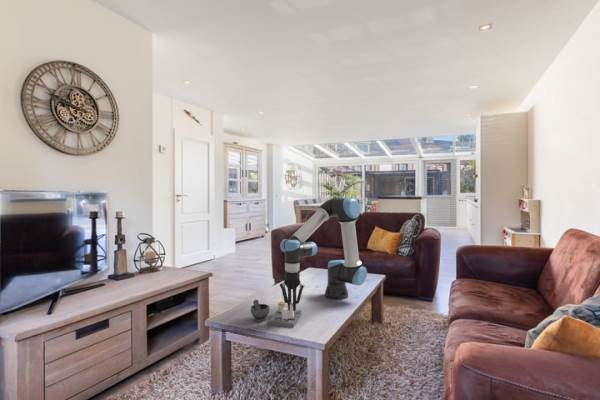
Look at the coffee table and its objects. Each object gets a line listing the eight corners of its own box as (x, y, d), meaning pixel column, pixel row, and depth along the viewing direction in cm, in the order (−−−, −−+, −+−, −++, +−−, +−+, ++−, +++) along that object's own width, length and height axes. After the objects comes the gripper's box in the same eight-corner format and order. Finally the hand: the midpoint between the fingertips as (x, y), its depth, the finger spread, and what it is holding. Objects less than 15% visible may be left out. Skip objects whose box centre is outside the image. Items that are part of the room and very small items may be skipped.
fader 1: (285, 310, 175) (285, 302, 174) (283, 312, 171) (283, 304, 171) (279, 309, 175) (279, 301, 175) (278, 311, 172) (278, 303, 172)
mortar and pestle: (256, 315, 173) (256, 293, 173) (272, 317, 170) (272, 295, 170) (246, 323, 162) (246, 300, 162) (263, 325, 159) (263, 302, 159)
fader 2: (289, 317, 165) (289, 308, 165) (287, 319, 162) (288, 310, 162) (283, 316, 165) (283, 308, 165) (281, 319, 162) (281, 310, 162)
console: (301, 314, 175) (301, 310, 175) (293, 327, 157) (293, 323, 157) (278, 312, 178) (278, 308, 178) (268, 325, 160) (268, 320, 160)
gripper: (306, 269, 165) (305, 315, 165) (282, 268, 167) (281, 312, 168) (303, 273, 157) (302, 320, 158) (277, 271, 160) (277, 318, 160)
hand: (291, 316), depth 163 cm, fingers closed
